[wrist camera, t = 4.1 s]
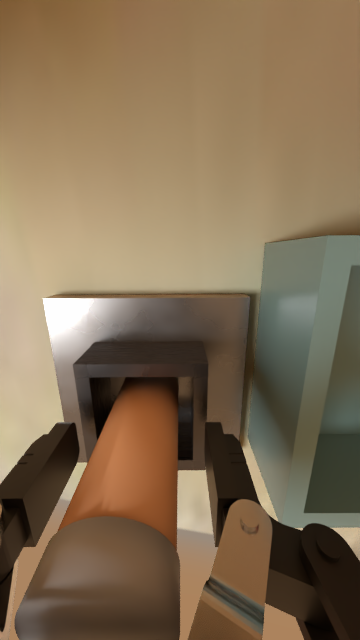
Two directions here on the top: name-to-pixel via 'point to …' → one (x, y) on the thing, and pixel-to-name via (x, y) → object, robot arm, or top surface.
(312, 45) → the top surface
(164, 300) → the socket block
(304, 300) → the bin
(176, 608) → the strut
